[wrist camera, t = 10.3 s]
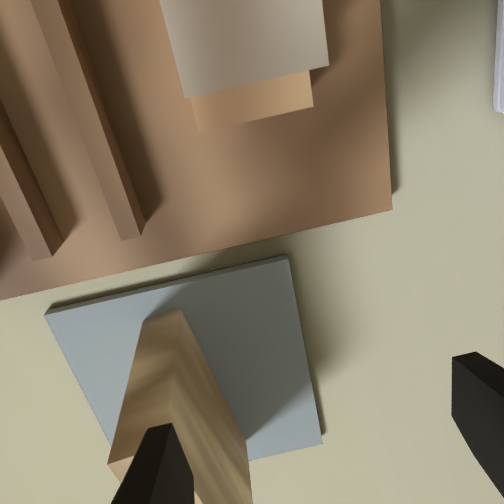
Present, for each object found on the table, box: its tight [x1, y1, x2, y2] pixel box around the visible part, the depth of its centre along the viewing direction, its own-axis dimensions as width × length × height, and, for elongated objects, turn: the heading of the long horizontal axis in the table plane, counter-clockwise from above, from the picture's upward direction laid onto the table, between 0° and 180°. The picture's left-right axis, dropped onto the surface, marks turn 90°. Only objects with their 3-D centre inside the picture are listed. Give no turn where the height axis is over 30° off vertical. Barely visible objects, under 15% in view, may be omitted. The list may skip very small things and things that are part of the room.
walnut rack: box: [0, 0, 392, 300], centre depth 13 cm, size 20×18×6 cm
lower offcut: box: [190, 70, 314, 133], centre depth 13 cm, size 4×7×2 cm, turn 11°
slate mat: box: [44, 255, 323, 461], centre depth 22 cm, size 12×13×1 cm
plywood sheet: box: [107, 308, 253, 504], centre depth 19 cm, size 2×10×8 cm, turn 19°
